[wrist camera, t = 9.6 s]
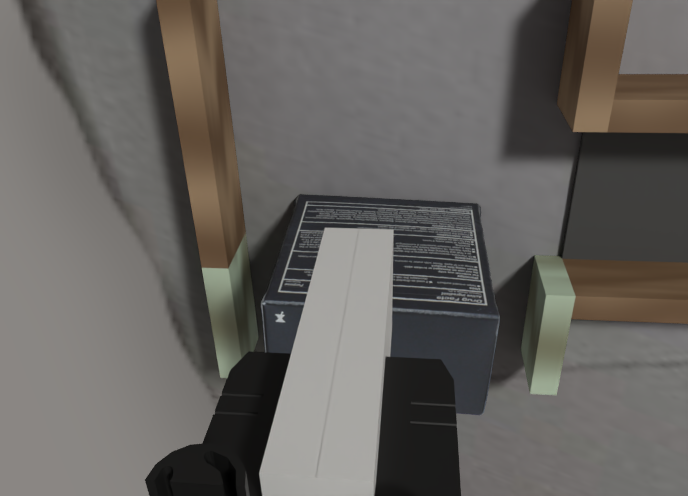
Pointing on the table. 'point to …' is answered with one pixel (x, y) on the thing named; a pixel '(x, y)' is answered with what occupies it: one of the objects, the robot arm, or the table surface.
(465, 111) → the table surface
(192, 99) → the wooden frame pieces
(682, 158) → the mat
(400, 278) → the small box
